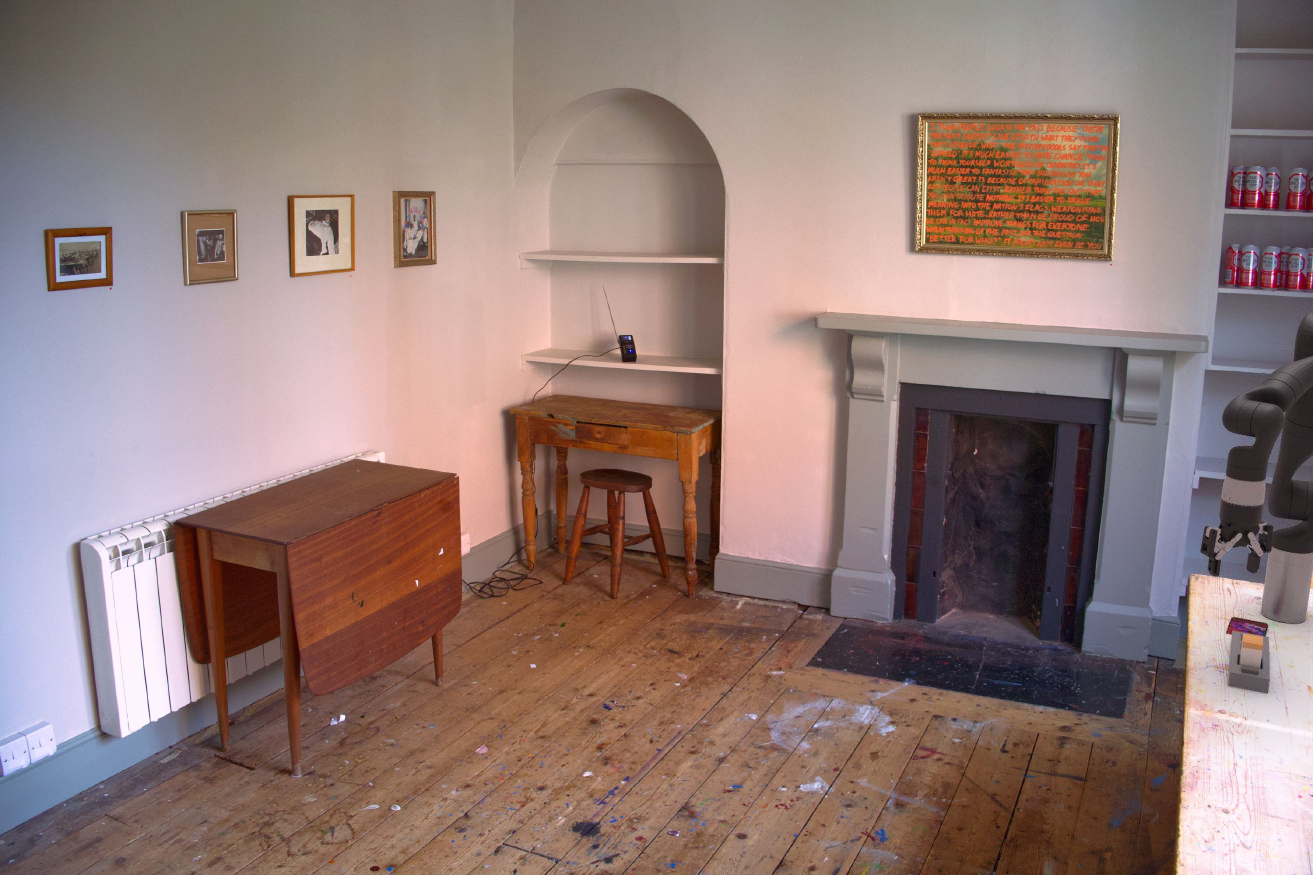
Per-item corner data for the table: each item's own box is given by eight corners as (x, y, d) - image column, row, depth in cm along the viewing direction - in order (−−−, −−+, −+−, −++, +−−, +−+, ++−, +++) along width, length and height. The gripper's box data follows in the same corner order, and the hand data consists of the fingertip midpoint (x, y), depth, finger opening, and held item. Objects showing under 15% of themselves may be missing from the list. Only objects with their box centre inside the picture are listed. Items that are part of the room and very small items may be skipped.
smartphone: (1222, 639, 234) (1231, 615, 246) (1222, 643, 234) (1231, 619, 246) (1262, 648, 229) (1269, 623, 241) (1261, 651, 230) (1268, 626, 242)
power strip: (1230, 647, 231) (1232, 627, 230) (1266, 653, 228) (1269, 633, 226) (1227, 689, 212) (1230, 668, 211) (1267, 697, 209) (1270, 675, 208)
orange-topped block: (1238, 668, 219) (1243, 633, 217) (1258, 672, 217) (1262, 636, 215) (1238, 677, 215) (1242, 641, 213) (1258, 680, 214) (1263, 645, 212)
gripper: (1223, 506, 205) (1213, 583, 209) (1288, 501, 207) (1277, 577, 211) (1198, 495, 212) (1189, 569, 216) (1261, 490, 214) (1251, 564, 218)
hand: (1232, 573), depth 213 cm, fingers open, 8 cm apart
